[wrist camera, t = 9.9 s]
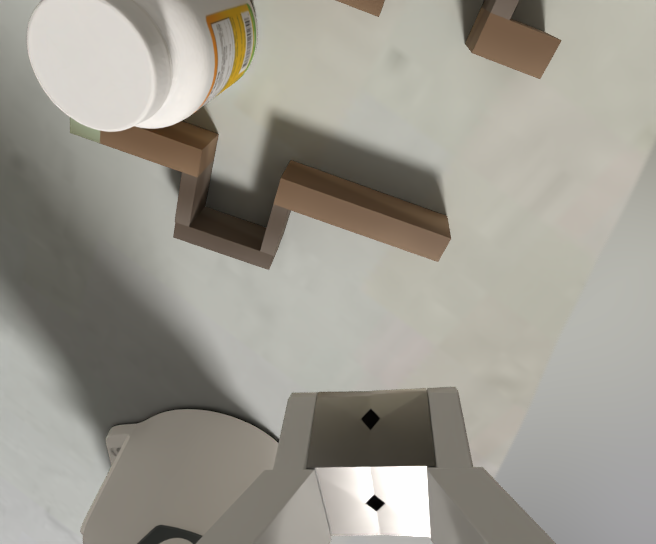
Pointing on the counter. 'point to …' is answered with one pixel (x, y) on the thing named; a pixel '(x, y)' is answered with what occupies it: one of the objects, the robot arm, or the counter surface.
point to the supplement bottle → (139, 57)
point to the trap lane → (314, 185)
